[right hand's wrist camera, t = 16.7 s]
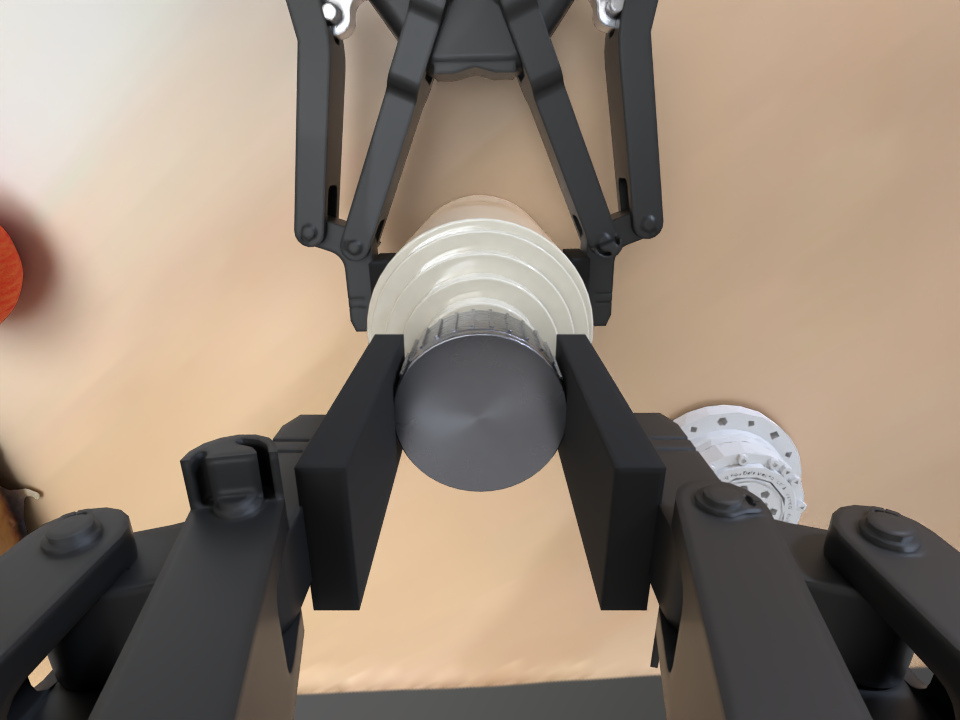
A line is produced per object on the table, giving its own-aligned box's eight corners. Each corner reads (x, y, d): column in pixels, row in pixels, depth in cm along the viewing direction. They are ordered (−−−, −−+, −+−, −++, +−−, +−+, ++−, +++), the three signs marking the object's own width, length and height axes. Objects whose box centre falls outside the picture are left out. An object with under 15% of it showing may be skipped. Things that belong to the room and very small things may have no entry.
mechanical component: (714, 371, 32) (600, 483, 35) (748, 402, 28) (617, 526, 31) (821, 461, 34) (706, 560, 37) (868, 502, 30) (735, 610, 33)
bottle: (382, 264, 30) (251, 404, 13) (482, 163, 28) (485, 166, 11) (478, 358, 32) (476, 588, 15) (577, 268, 30) (707, 412, 13)
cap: (494, 477, 15) (496, 522, 13) (371, 397, 14) (354, 432, 13) (591, 369, 14) (607, 401, 12) (463, 274, 13) (461, 293, 11)
